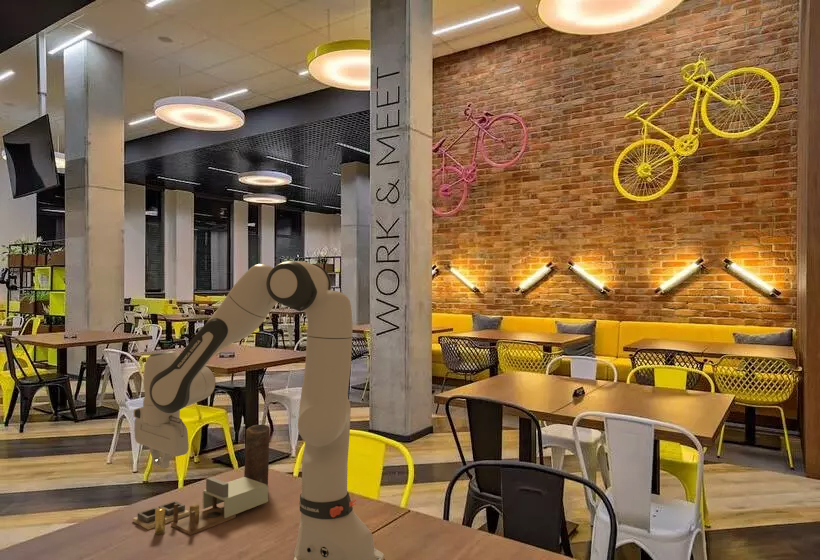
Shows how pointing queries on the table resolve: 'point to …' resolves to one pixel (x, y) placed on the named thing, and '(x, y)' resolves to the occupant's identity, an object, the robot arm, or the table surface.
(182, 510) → the tan socket tray
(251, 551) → the table surface
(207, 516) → the base
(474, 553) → the table surface
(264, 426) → the brown wooden log
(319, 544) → the robot arm
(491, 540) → the table surface
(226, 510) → the lid
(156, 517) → the pin
